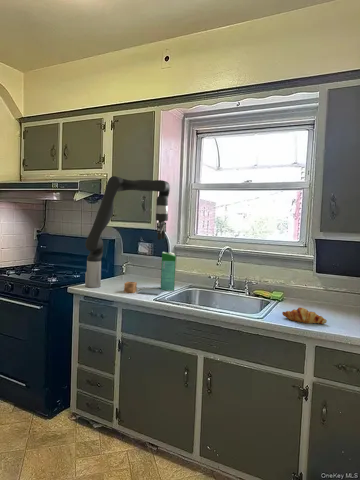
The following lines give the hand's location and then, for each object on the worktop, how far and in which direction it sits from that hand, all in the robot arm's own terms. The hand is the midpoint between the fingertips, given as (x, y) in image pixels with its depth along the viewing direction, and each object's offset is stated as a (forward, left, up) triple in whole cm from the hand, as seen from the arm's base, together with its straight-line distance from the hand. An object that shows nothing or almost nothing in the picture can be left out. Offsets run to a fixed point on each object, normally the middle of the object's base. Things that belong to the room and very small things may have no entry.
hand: (161, 239), depth 222 cm
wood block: (-18, -2, -35) cm, 39 cm away
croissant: (+83, -31, -35) cm, 95 cm away
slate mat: (-6, +2, -35) cm, 35 cm away
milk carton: (+2, +16, -35) cm, 38 cm away
